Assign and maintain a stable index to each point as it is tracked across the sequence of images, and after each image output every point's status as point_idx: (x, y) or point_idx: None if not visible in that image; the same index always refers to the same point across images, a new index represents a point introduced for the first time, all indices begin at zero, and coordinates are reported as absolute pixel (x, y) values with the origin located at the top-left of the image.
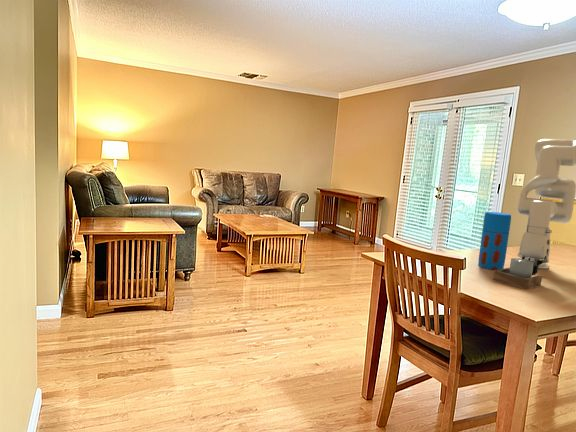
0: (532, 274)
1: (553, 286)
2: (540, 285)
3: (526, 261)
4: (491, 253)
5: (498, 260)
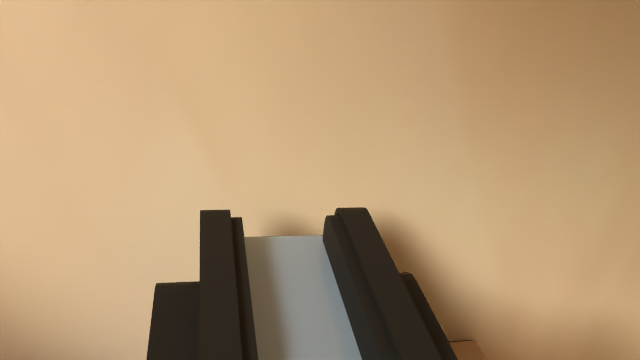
0: None
1: (606, 211)
2: (474, 349)
3: None
4: None
5: None
